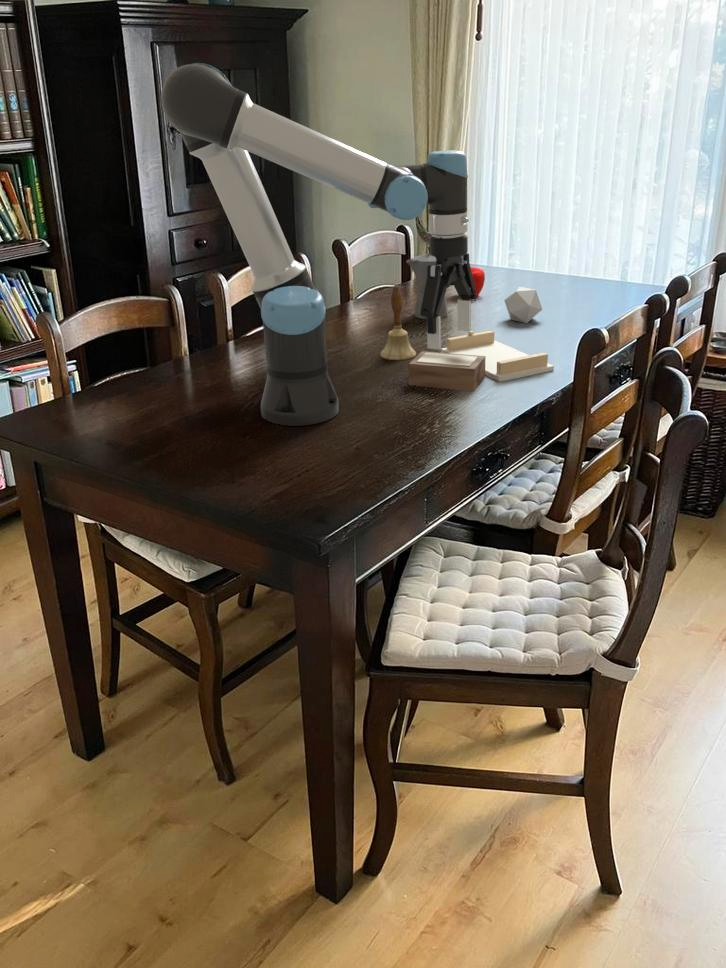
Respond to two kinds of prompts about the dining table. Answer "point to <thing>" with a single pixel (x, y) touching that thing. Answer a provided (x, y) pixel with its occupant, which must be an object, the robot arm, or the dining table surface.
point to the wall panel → (498, 356)
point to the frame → (447, 370)
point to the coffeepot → (424, 281)
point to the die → (523, 304)
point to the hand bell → (397, 333)
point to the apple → (478, 279)
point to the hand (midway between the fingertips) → (449, 339)
